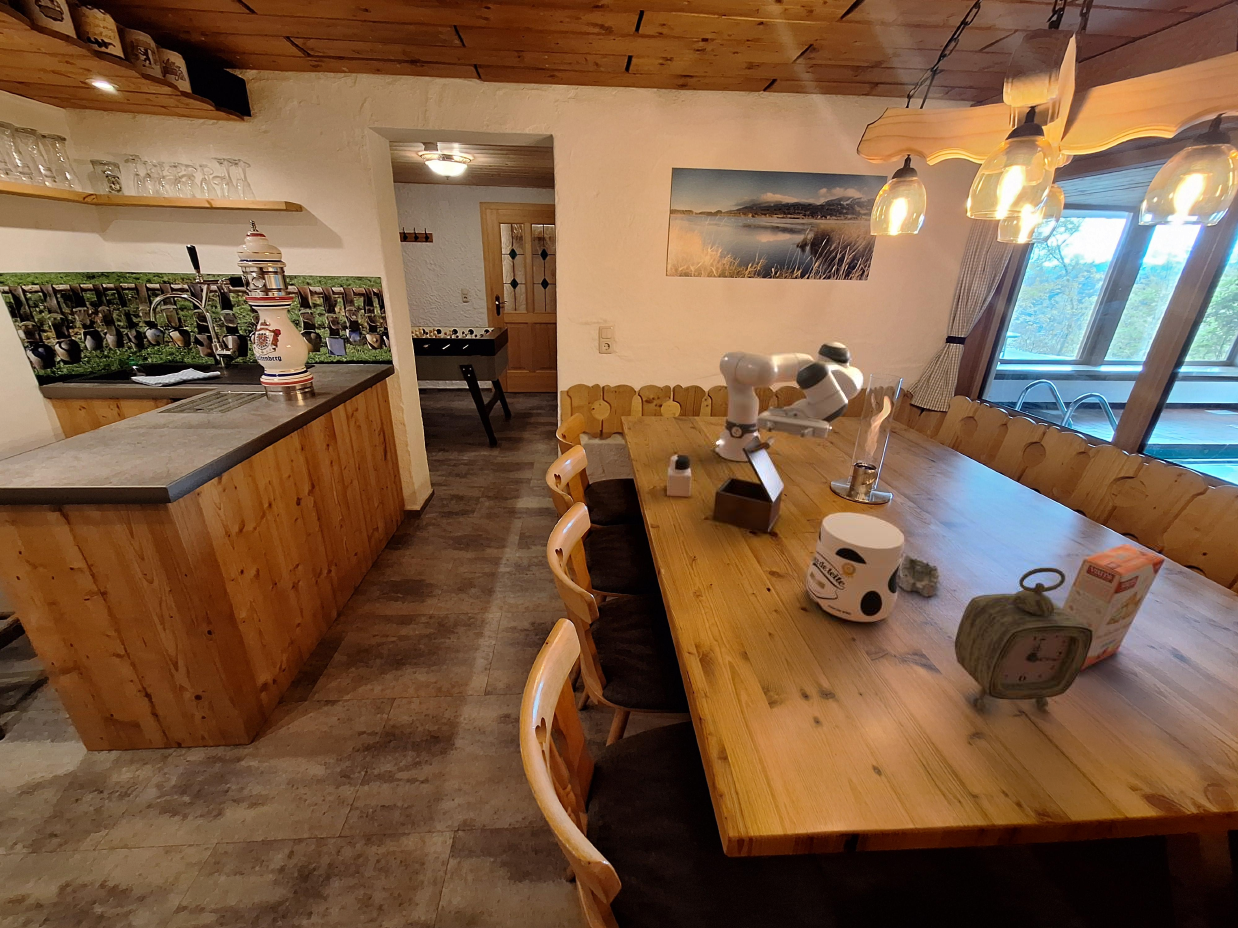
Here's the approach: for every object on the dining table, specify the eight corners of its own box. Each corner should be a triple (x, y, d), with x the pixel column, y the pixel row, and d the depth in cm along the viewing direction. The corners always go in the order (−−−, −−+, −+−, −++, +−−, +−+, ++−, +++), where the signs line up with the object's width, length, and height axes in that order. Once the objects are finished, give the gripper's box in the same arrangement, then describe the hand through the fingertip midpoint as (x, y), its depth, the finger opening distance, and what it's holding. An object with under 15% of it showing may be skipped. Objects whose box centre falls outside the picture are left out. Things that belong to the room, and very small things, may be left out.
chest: (712, 519, 140) (715, 491, 136) (727, 503, 150) (729, 476, 147) (767, 533, 132) (771, 504, 129) (778, 515, 143) (782, 488, 139)
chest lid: (741, 448, 129) (762, 439, 125) (755, 436, 139) (774, 427, 135) (770, 503, 129) (791, 496, 126) (781, 487, 139) (801, 479, 136)
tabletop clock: (974, 717, 78) (1023, 585, 69) (937, 673, 86) (976, 551, 77) (1060, 714, 79) (1120, 583, 70) (1015, 671, 87) (1063, 550, 78)
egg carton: (933, 600, 106) (938, 584, 105) (894, 587, 110) (898, 572, 109) (937, 577, 114) (942, 562, 113) (901, 566, 118) (905, 551, 117)
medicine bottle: (688, 487, 160) (691, 453, 156) (689, 497, 153) (692, 461, 149) (667, 486, 161) (669, 452, 156) (666, 495, 154) (669, 460, 150)
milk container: (789, 603, 104) (802, 529, 98) (821, 571, 116) (835, 502, 109) (876, 643, 93) (897, 562, 87) (901, 602, 105) (921, 529, 99)
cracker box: (1079, 675, 86) (1125, 575, 79) (1040, 652, 92) (1080, 556, 84) (1120, 653, 92) (1168, 557, 84) (1082, 633, 97) (1123, 541, 89)
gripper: (831, 436, 146) (822, 449, 135) (762, 425, 155) (749, 436, 144) (834, 415, 143) (826, 427, 132) (765, 405, 153) (752, 415, 142)
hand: (786, 432), depth 138 cm, fingers open, 8 cm apart
